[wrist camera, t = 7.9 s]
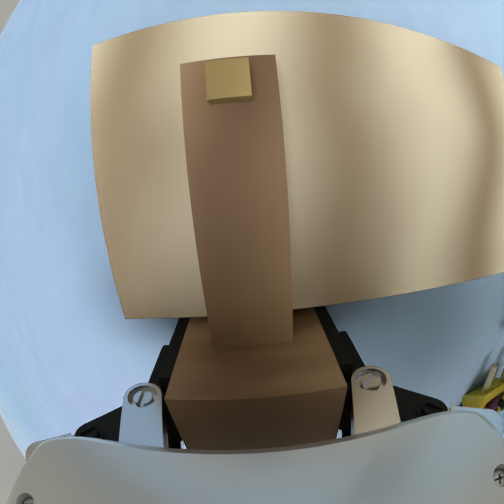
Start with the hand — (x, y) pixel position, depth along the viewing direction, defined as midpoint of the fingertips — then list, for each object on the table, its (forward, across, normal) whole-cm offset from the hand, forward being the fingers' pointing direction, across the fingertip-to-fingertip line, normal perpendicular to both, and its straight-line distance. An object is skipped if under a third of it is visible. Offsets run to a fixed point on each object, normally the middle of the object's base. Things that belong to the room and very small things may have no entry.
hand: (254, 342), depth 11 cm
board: (+1, -4, -7) cm, 8 cm away
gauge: (+1, 0, -4) cm, 4 cm away
